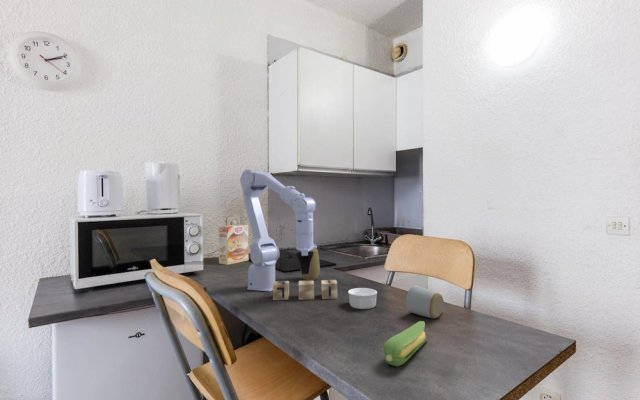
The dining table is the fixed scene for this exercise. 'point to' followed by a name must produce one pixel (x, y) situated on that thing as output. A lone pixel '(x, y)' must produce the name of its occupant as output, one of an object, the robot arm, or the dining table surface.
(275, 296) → the numbered block seven
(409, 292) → the grey and brown cylinder
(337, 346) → the dining table surface
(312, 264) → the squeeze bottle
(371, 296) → the ramekin
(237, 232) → the coffeecake box
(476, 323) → the dining table surface
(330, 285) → the numbered block one
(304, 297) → the plain block
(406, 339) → the edible corn
